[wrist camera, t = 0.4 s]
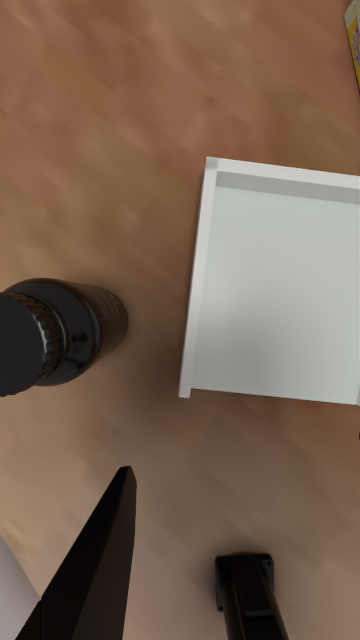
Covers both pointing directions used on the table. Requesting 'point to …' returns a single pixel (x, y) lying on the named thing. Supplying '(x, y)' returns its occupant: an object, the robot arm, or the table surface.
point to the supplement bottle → (55, 332)
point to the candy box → (354, 33)
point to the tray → (275, 284)
